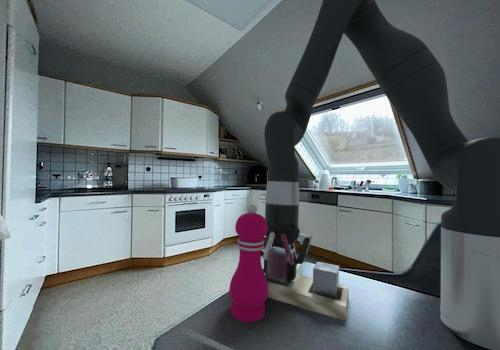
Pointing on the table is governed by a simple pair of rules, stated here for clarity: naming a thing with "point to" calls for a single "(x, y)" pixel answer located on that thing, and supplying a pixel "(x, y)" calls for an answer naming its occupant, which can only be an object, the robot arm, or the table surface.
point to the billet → (326, 280)
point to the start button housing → (298, 269)
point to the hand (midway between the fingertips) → (279, 277)
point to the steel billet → (277, 266)
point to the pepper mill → (249, 269)
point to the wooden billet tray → (310, 297)
